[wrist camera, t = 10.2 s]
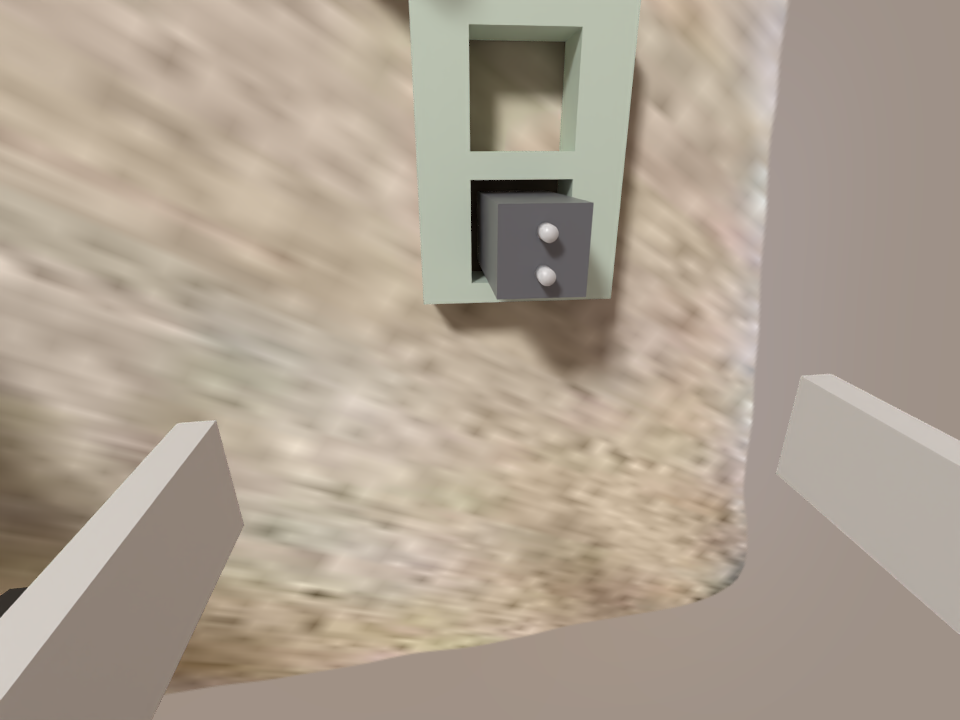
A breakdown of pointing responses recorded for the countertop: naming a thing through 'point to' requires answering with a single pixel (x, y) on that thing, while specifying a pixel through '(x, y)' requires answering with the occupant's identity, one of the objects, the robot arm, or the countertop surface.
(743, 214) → the countertop surface
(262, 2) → the countertop surface
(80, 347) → the countertop surface
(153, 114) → the countertop surface
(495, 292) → the charger
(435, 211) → the outlet plate
